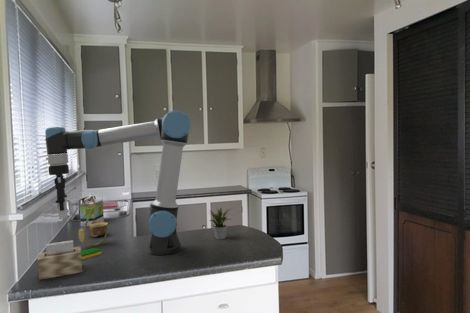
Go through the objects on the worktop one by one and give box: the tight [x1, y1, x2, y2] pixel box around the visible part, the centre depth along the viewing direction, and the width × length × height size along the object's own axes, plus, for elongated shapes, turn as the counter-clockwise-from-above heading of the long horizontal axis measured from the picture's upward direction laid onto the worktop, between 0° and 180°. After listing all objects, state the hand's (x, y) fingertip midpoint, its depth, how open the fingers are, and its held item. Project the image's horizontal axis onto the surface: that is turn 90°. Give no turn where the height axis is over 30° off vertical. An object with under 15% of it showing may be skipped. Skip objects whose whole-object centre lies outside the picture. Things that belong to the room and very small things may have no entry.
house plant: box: [208, 207, 232, 240], centre depth 187 cm, size 14×14×16 cm
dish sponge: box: [81, 247, 103, 261], centre depth 170 cm, size 7×14×2 cm, turn 142°
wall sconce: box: [78, 197, 109, 247], centre depth 187 cm, size 14×10×25 cm
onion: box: [89, 221, 108, 238], centre depth 208 cm, size 10×9×10 cm
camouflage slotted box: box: [37, 245, 83, 281], centre depth 150 cm, size 16×10×8 cm
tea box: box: [79, 199, 105, 227], centre depth 243 cm, size 15×10×15 cm, turn 179°
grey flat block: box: [45, 239, 75, 256], centre depth 150 cm, size 10×3×9 cm, turn 114°
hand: (63, 215), depth 151 cm, fingers open, 13 cm apart
